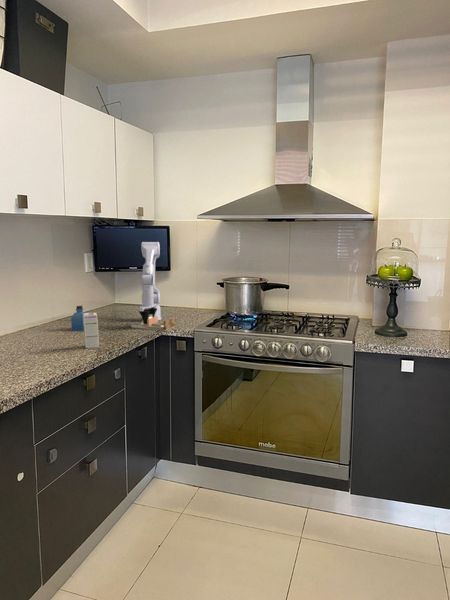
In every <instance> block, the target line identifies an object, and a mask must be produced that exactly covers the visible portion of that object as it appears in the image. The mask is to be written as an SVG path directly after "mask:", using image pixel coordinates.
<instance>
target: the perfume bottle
mask: <svg viewBox="0 0 450 600" xmlns="http://www.w3.org/2000/svg"><path fill="white" fill-rule="evenodd" d="M75 307H76V308H75V311H76V312H73V314H72V316H71V319H70V322H71V331H75V330H77V331H78V332H79V331H80V332H84V321H83V313H87V312H86V311H84V307H83V305H76V306H75Z"/></svg>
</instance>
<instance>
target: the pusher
mask: <svg viewBox="0 0 450 600" xmlns="http://www.w3.org/2000/svg"><path fill="white" fill-rule="evenodd" d="M158 322H159V320H158V316H156V317H153V318H150V319H147V326H156V327H159V326H162V323H158Z"/></svg>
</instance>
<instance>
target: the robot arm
mask: <svg viewBox="0 0 450 600" xmlns="http://www.w3.org/2000/svg"><path fill="white" fill-rule="evenodd" d="M140 247H141V249H140V250H141V253H142V254H141V255H142V257H143V258H144V259H145V262H144V264H143V265H142V266H143V267H142V275H141V276H140V283H141V284H140V285H141V289H142V291H141V303H142V304H141V305H140V307H138V308H139V310H138V313H139V315H140V316H141V318H142V319H141V322H142V321H143V323H144V324H147V319H148V317H149V314H153V316H152V318H153V317H156V316H158V321H161V320H162V319H163V317H161V316H162V315H161V310H162V309H161V306H160V303H161V291H160V289H158V288H157V287H156V260H157V259H158V258H160V255H161V253H160V250H161V247H160V242H159V241H142V242H141V244H140Z"/></svg>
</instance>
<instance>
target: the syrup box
mask: <svg viewBox="0 0 450 600" xmlns="http://www.w3.org/2000/svg"><path fill="white" fill-rule="evenodd" d="M83 321H84V331H83V335H84V336H83V337H84V347H85V349H94V348H100V343H99V341H100V340H99V338H100V337H99V324H98V314H97V312H86V313H83Z"/></svg>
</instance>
